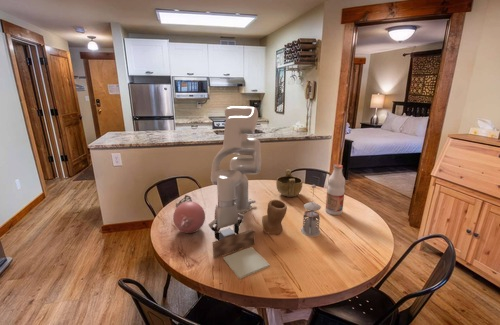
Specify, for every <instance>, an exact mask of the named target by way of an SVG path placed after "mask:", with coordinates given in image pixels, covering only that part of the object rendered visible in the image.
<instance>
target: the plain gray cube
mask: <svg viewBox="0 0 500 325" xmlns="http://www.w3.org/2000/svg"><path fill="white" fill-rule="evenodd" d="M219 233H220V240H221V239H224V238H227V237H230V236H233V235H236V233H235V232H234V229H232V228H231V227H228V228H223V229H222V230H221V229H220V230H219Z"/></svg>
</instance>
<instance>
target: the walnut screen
mask: <svg viewBox="0 0 500 325" xmlns="http://www.w3.org/2000/svg"><path fill="white" fill-rule="evenodd" d="M255 233H256V231H255V229H254V228H251V229H248V230H246V231H243V232H239V234H236V233H235V235H233V236H230V237H227V238H224V239H221V240H215V241H212V257H213V258H214V259H217V258H220V257H222V256H223V257H224V256H225V255H226V256H227V255H228V254H231V253H235V252H236V251H238V250H239V251H240V250H243V249H244V248H245V249H246V248H248V247H251V246H252V245H255V241H256V238H255V237H256V236H255Z"/></svg>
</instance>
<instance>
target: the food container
mask: <svg viewBox="0 0 500 325" xmlns="http://www.w3.org/2000/svg"><path fill="white" fill-rule="evenodd" d="M188 201H192V202H193V199H192V197H191V196H190V195H187V194H185V195H184V197H183V198H181V199H180V200H179V202H178V203H177V202H176V203H175V208H177V207H178V206H179V205H180V204H182V203H184V202H188Z"/></svg>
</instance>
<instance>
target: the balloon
mask: <svg viewBox="0 0 500 325" xmlns="http://www.w3.org/2000/svg"><path fill="white" fill-rule="evenodd" d="M172 215H173V216H172V217H173V218H172V220H173V223H174V226H175V227H176V229H177V230H178V231H180V232H183V233H185V234H191V233H195V232H197V231H199V230H200V229H201V228H202V227H203V225H204V224H205V220H206V213H205V210H204V208H203V207H202V206H201V204H200V203H197V202H196V201H193V200H192V201H188V202H184V203H182V204H180V205H179V206H178V207H175V209H174V211H173V214H172Z"/></svg>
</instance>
